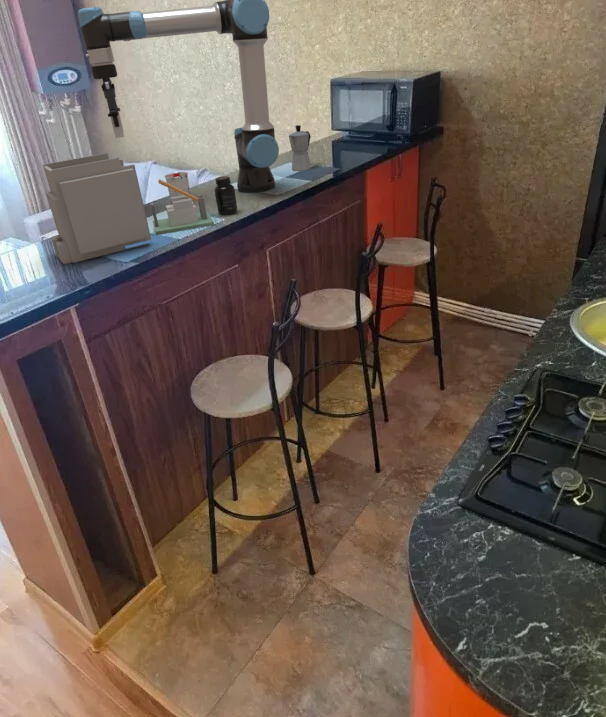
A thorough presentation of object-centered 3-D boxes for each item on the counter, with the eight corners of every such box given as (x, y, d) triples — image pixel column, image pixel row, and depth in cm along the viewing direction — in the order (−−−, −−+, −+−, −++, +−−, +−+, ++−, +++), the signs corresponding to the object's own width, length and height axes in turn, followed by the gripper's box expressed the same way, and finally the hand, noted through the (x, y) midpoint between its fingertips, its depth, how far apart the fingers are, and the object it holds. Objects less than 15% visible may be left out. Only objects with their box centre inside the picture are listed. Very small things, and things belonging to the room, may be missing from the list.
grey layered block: (54, 252, 178) (26, 166, 165) (137, 232, 189) (117, 149, 176) (66, 267, 165) (37, 174, 152) (154, 244, 176) (134, 156, 163)
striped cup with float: (188, 211, 206) (181, 177, 200) (166, 212, 208) (159, 178, 202) (198, 203, 215) (192, 170, 209) (177, 204, 216) (170, 172, 211)
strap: (200, 201, 192) (202, 197, 192) (202, 204, 189) (204, 200, 189) (158, 181, 186) (159, 177, 185) (158, 183, 182) (160, 179, 182)
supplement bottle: (216, 212, 202) (210, 177, 196) (234, 208, 204) (229, 174, 198) (221, 216, 196) (215, 181, 190) (240, 213, 198) (235, 177, 192)
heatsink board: (207, 214, 200) (203, 190, 196) (214, 224, 188) (209, 199, 184) (153, 223, 196) (147, 199, 192) (155, 234, 184) (150, 208, 180)
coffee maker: (302, 172, 245) (298, 128, 236) (285, 172, 250) (281, 128, 241) (320, 165, 256) (317, 121, 247) (303, 164, 260) (299, 122, 251)
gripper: (91, 64, 192) (108, 131, 203) (89, 66, 171) (107, 141, 182) (114, 62, 194) (130, 128, 204) (114, 63, 173) (131, 138, 183)
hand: (119, 134), depth 193 cm, fingers open, 13 cm apart
